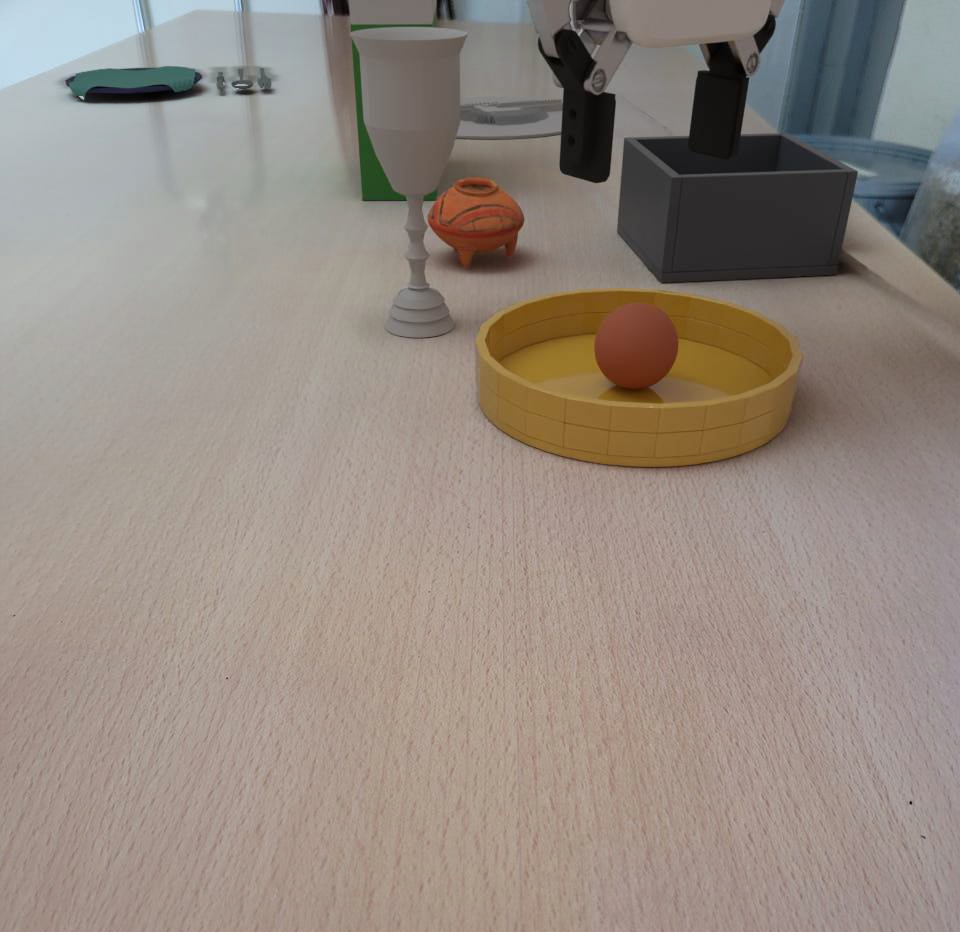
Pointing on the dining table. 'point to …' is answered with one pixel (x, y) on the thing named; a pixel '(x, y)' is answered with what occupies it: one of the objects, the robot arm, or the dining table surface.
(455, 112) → the chalice
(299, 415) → the dining table surface
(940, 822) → the dining table surface
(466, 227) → the pot
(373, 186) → the white green box
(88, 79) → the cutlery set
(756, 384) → the bowl
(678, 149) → the bin
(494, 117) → the plate
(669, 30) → the robot arm
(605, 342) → the toy ball
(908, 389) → the dining table surface
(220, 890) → the dining table surface
